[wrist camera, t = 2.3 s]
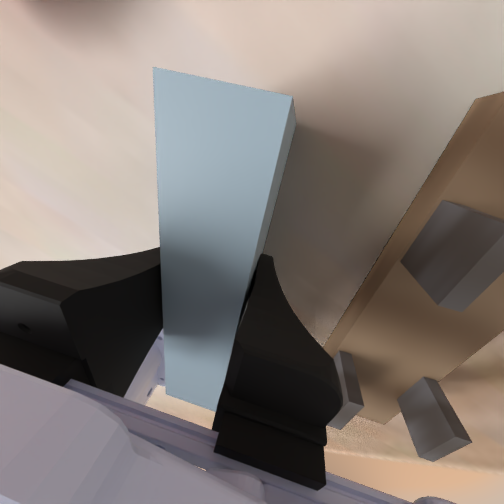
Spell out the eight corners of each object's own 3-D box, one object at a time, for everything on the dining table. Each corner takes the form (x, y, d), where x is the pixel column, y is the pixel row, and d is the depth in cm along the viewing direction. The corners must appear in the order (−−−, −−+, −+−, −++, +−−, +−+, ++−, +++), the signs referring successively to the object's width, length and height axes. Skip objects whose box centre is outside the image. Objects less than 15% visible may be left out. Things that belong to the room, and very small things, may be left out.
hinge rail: (377, 403, 17) (400, 479, 13) (304, 379, 18) (305, 445, 14) (667, 136, 7) (1121, 127, 3) (475, 98, 8) (661, 50, 4)
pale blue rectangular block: (252, 329, 16) (230, 417, 11) (208, 315, 16) (165, 394, 11) (313, 127, 9) (332, 104, 4) (233, 109, 9) (152, 66, 4)
